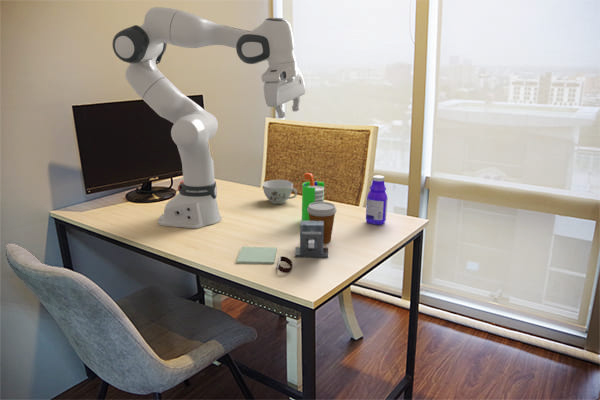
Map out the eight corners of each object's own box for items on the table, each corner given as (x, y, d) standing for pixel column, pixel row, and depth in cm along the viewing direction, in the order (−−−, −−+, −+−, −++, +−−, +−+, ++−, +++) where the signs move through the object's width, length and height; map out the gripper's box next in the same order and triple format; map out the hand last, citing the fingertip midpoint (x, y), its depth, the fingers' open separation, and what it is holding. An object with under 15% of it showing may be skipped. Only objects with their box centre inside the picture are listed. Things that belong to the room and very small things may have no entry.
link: (301, 254, 138) (301, 234, 137) (302, 251, 140) (302, 231, 138) (320, 255, 138) (321, 234, 136) (320, 252, 140) (321, 231, 138)
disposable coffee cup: (326, 248, 152) (327, 212, 148) (301, 242, 156) (301, 207, 153) (340, 238, 159) (341, 204, 156) (315, 233, 164) (316, 199, 161)
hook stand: (293, 270, 136) (293, 237, 133) (295, 249, 150) (295, 219, 148) (328, 270, 136) (329, 238, 133) (327, 250, 150) (328, 219, 147)
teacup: (256, 203, 195) (256, 185, 193) (272, 196, 206) (271, 178, 204) (289, 209, 189) (289, 189, 186) (303, 200, 200) (303, 182, 197)
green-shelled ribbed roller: (321, 226, 170) (322, 177, 165) (299, 225, 172) (299, 176, 166) (325, 218, 179) (326, 171, 173) (304, 216, 180) (304, 170, 175)
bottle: (387, 221, 175) (390, 175, 170) (383, 226, 170) (386, 179, 165) (368, 218, 178) (370, 173, 173) (363, 223, 173) (366, 177, 168)
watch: (276, 263, 141) (276, 252, 140) (292, 263, 141) (292, 251, 140) (276, 275, 134) (276, 263, 133) (293, 274, 134) (293, 262, 133)
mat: (236, 263, 141) (236, 261, 140) (242, 248, 151) (242, 246, 151) (273, 263, 140) (273, 262, 140) (276, 249, 151) (276, 247, 150)
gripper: (290, 66, 162) (295, 107, 167) (258, 77, 146) (264, 122, 151) (307, 65, 159) (311, 107, 164) (275, 76, 143) (281, 122, 148)
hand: (289, 114), depth 158 cm, fingers open, 8 cm apart
